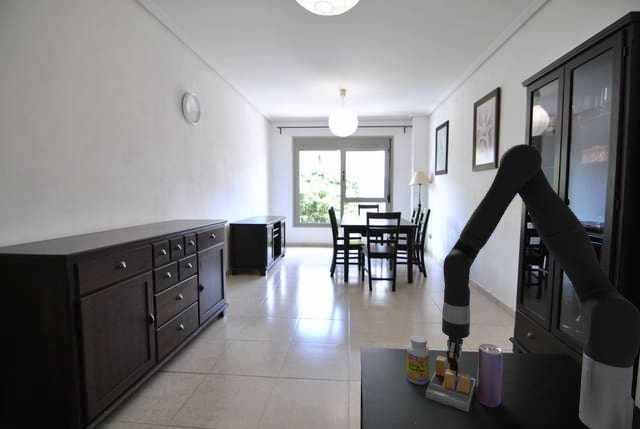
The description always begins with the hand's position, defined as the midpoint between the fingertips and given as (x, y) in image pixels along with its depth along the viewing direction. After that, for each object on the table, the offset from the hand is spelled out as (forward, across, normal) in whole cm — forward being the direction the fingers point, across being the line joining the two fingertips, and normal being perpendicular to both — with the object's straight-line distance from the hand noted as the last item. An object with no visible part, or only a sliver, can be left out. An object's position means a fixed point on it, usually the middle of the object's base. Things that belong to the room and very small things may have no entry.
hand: (453, 374), depth 96 cm
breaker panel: (+4, -3, 0) cm, 5 cm away
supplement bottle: (+4, -2, +10) cm, 11 cm away
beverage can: (+4, -2, -9) cm, 10 cm away
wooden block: (+1, +1, +4) cm, 4 cm away
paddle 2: (+1, -6, 0) cm, 6 cm away
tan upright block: (+1, -6, -4) cm, 7 cm away
